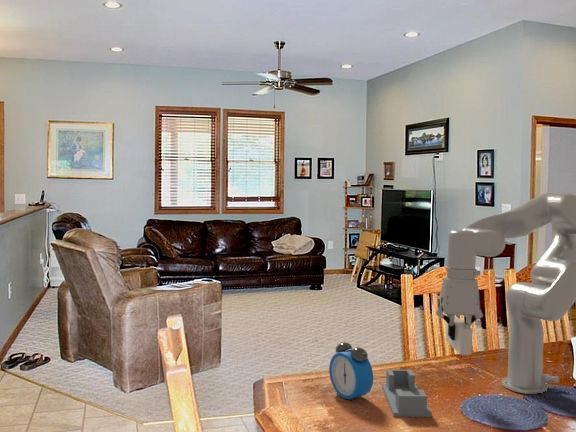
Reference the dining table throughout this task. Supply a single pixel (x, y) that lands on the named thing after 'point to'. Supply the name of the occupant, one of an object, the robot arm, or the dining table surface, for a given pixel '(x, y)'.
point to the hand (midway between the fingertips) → (458, 338)
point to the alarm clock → (350, 371)
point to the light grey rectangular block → (461, 337)
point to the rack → (405, 395)
